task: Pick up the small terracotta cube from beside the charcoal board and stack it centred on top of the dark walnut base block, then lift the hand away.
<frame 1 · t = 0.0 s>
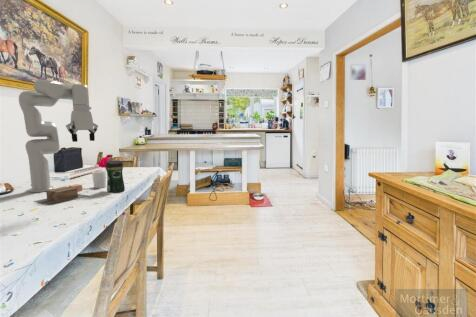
hand: (83, 141, 148), 31 cm above the table, tool pointing down, fingers open, 9 cm apart
charcoal board: (62, 201, 145), on the table
walnut base block: (62, 198, 145), point 1 cm above the table, touching charcoal board
white cup: (99, 187, 180), on the table
coffee jar: (115, 191, 167), on the table
terracotta cube: (75, 193, 162), on the table
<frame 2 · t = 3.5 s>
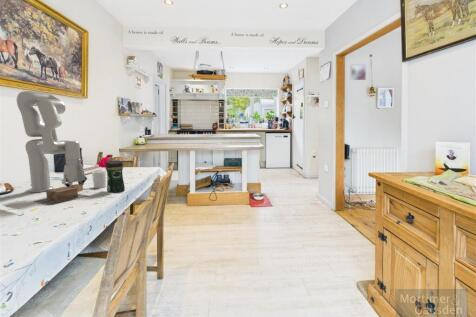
hand: (75, 192, 162), 0 cm above the table, tool pointing down, fingers closed on terracotta cube, 5 cm apart
terracotta cube: (75, 193, 162), on the table, touching gripper
everything else where it was.
when the fingers open (8 cm above the table, at t = 8.9 s): terracotta cube stays where it is, resting on walnut base block.
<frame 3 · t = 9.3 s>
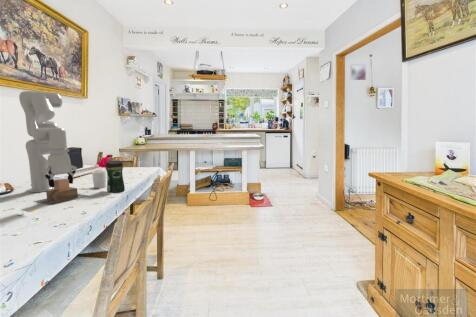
hand: (61, 185, 144), 9 cm above the table, tool pointing down, fingers open, 9 cm apart
walnut base block: (62, 198, 145), point 1 cm above the table, touching charcoal board, terracotta cube
terracotta cube: (61, 189, 144), point 6 cm above the table, touching walnut base block
everything else where it was.
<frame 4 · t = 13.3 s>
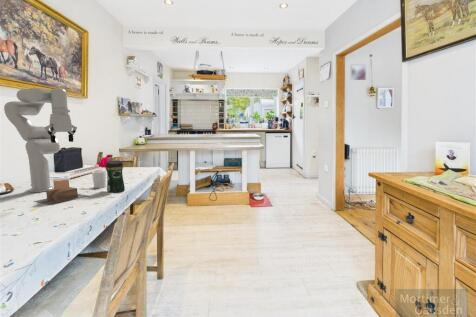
hand: (62, 142, 156), 30 cm above the table, tool pointing down, fingers open, 9 cm apart
nothing on the table moved.
at the end: terracotta cube 0.0 cm off-centre on the walnut base block, point 5.0 cm above the walnut base block's base; terracotta cube tilted 0°; the gripper is holding nothing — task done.
